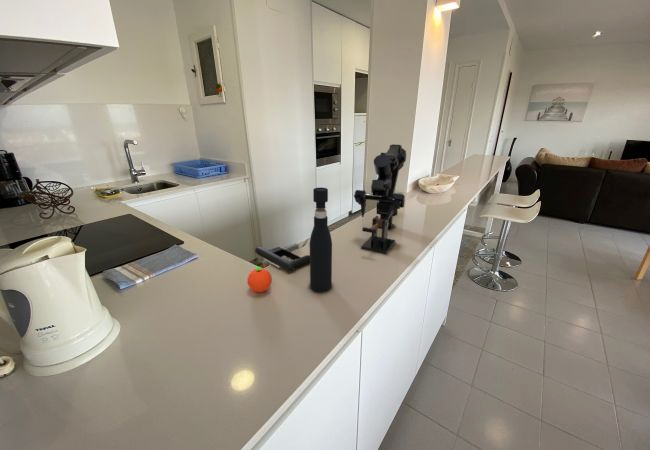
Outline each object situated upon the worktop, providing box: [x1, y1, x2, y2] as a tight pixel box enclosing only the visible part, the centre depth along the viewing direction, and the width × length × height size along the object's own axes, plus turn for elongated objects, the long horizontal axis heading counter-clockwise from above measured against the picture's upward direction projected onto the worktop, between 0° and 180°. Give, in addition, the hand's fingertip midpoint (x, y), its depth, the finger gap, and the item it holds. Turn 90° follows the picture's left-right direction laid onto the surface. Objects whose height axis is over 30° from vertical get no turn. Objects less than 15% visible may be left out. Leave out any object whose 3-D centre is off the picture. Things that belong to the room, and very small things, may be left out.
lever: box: [361, 218, 384, 235], centre depth 102 cm, size 14×5×2 cm, turn 151°
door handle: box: [254, 243, 310, 273], centre depth 100 cm, size 3×20×16 cm
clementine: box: [247, 266, 273, 293], centre depth 81 cm, size 8×7×7 cm
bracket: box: [360, 215, 396, 255], centre depth 108 cm, size 12×10×12 cm
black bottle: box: [309, 187, 333, 293], centre depth 78 cm, size 6×6×30 cm
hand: (374, 218), depth 102 cm, fingers open, 9 cm apart
